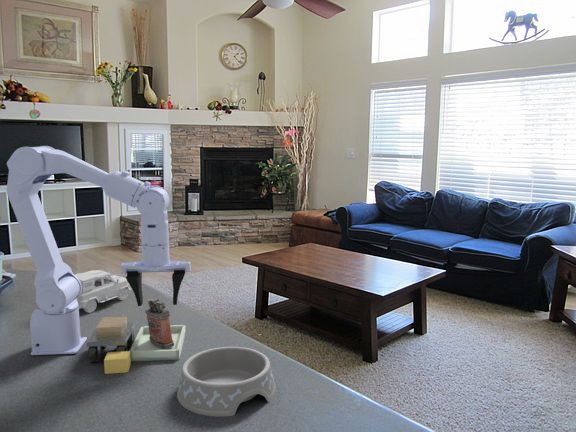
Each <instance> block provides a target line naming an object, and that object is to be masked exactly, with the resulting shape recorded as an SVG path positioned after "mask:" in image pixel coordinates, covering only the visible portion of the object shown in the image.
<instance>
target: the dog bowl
mask: <svg viewBox="0 0 576 432" xmlns="http://www.w3.org/2000/svg"><path fill="white" fill-rule="evenodd" d="M270 361H271V360H270V358H268V357H267V355H265V354H264V353H262V352H260V351H258V350H256V349H254V348H253V349H252V348H250V347H243V346H222V347H214V348H210V349H206V350H203V351H200V352H197V353H196V354H193V355H191V356H190V357H188V358H187V360H186V361H185V362H184V363H183V364H182V368H181V372H180V378H179V383H178V388H177V392H176V399H177V400H178V403H179V404H180V405H181V406H182V408H185V409H187V410H188V411H190V412H192V413H195V414H198V415H203V416H208V417H233V416H235V415H236V413H237V410H238V408H239V406H240V404H241V403H244V402H247V401H249V400H252V399H253V398H255V397H256V396H257V395H260V396H263V397H264V398H265V400H266V401H267V403H270V402H271V400H272V399H273V398H274V397H275V394H276V391H277V385H276V382H275V378H274V375H273V370H272V366H271V362H270Z"/></svg>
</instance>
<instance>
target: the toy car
mask: <svg viewBox="0 0 576 432" xmlns="http://www.w3.org/2000/svg"><path fill="white" fill-rule="evenodd" d="M74 275H75V276H76V277H77V278H78V279H79V280H80V282H81V286H82V289H81V293H80V295H79V296H78V297H77V302H78V307H79V310H80V309H81V310H82V309H83V310H84V312H85V313H89V314H91V313H93V312H95V311H96V309H97V304H99V303H104V302H107V301H110V300H114V299H116V298H117V300H119V301H125V300H126V299H127V298H128V295H129V291H133V290H132V288H131V286H130V284H129V283H128V282H127V279H126V277H123V275H114V274H113V273H112V274H111V273H110V272H107V271H105V270H99V269H97V270H93V269H92V270H89V271H88V270H87V271H85V272H81V273H75V274H74Z"/></svg>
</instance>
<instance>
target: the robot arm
mask: <svg viewBox="0 0 576 432" xmlns="http://www.w3.org/2000/svg"><path fill="white" fill-rule="evenodd" d="M6 166H7V169H8V175H7V184H6V185H7V186H6V194H7V198H8V200H9V202H10V204H11V208H12V209H13V213H14V215H15V218H16V221H17V223H18V225H19V228H20V231H21V234H22V236H23V239H24V242H25V244H26V247H27V248H28V251H29V255H30V257H31V260H32V262H33V265H34V267H35V270H36V275H35V278H34V282H33V285H34V287H35V291H36V293H35V303H36V305H37V307H38V308H39V309H38V308H37V309H34V310H33V312H32V314H31V316H30V321H29V330H30V343H31V352H30V355H31V356H41V355H42V356H45V355H72V354H74V355H75V354H77V353H78V352H79V351H80V349H81V348H82V347H83V346H84V344H85V342H87V341H88V337H87V336H81V325H80V309H79V307H78V302H77V297H78V296H79V295H80V293H81V289H82V286H81V282H80V280H79V279H78V278H77V277H76V276H75V274H74V273H73V271H72V267H70V265H69V264H67V263H66V262H64V260H63V258H62V256H61V252H60V251H59V248H58V245H57V242H56V240H55V237H54V234H53V231H52V229H51V226H50V223H49V221H48V218H47V216H46V213H45V210H44V208H43V207H44V206H43V205H42V202H41V199H40V197H39V194H38V193H39V191H40V190H41V188H42V187H43V186H44V183H46V181H47V180H48V179H50V178H51V177H52V176H53V175H54V174H55V175H57V174H67V175H70V176H72V177H74V178H77V179H80V180H83V181H85V182H88V183H89V184H90V183H91V184H93V185H95V186H98V187H101V188H102V190H103V192H104V195H105V196H107V197H108V198H112V199H113V200H115V201H118V202H120V203H123V204H125V205H126V206H130V207H132V208H136V209H137V211H138V212H139V214H140V233H141V239H140V240H141V258H142V259H141V261H134V262H122V263H121V264H120V274H121V275H125V274H126V276H125V278H126V279H127V282H128V283H129V284H130V288H131V289H132V290H131V291H132V292H133V294H134V296H135V300H136V303H137V306H138V307H141V306H142V305H143V304H144V303H143V301H144V300H143V299H144V298H143V297H144V296H143V288H142V285H143V283H142V278H143V276H142V275H143V273H171V272H172V276H171V279H172V280H171V281H172V291H173V293H172V294H173V295H172V305H173V306H177V304H178V299H179V298H178V297H179V292H180V288H181V285H182V283H183V280H184V278H185V274H186V273H190V272H191V269H192V265H191V261H184V260H183V261H182V260H170V259H171V258H170V234H169V231H170V230H169V229H170V228H169V220H168V217H169V216H168V210H167V209H168V208H169V205H170V202H171V198H170V195H169V193H168V192H167V190H166V189H164V187H163V188H162V187H161V186H160V185H152V186H151V184H152V183H151V182H149V181H145V182H144V181H143V180H142V181H141V180H139V179H138V178H135V177H132V176H130V174H131V173H130V172H129V171H127V170H122V172H121V171H119V170H116V171H114V172H113V171H112V172H111V173H109V172H107V171H105V170H103V169H101V168H98V167H97V166H94V165H93V164H91V163H89V162H86V161H84V159H83V160H82V159H80V158H79V157H76V156H74V155H72V154H70V153H68V152H66V151H64V150H62V149H61V150H60V149H55V148H54V147H52V146H49V145H40V146H21V147H19V148H16V150H14V152H13V153H12V154H11V156H10V157H9V159H8V160H7V162H6Z"/></svg>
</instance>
